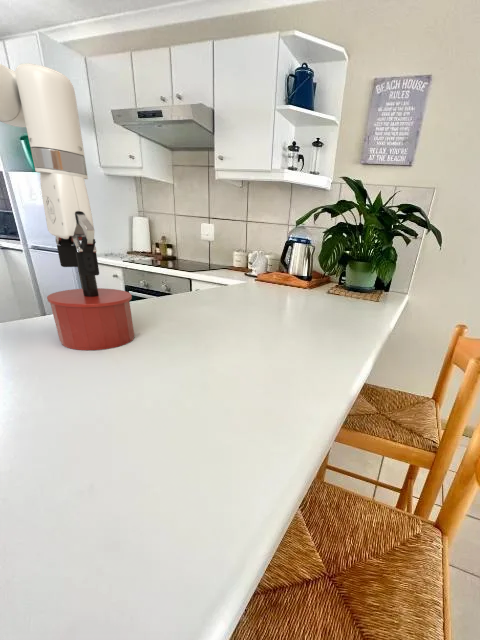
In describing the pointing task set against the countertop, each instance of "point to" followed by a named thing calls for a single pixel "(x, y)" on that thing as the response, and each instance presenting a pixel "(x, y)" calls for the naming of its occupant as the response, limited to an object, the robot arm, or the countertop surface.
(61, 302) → the lid
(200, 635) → the countertop surface
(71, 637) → the countertop surface
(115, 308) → the pot
